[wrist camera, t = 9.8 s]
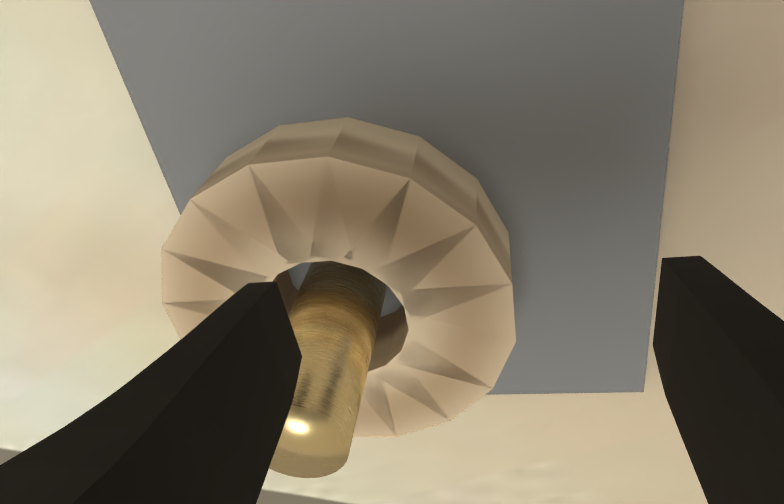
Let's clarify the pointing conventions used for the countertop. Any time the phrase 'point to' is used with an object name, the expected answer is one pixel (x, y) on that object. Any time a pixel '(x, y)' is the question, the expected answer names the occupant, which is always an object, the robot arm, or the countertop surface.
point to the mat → (452, 134)
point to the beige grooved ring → (360, 256)
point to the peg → (329, 366)
